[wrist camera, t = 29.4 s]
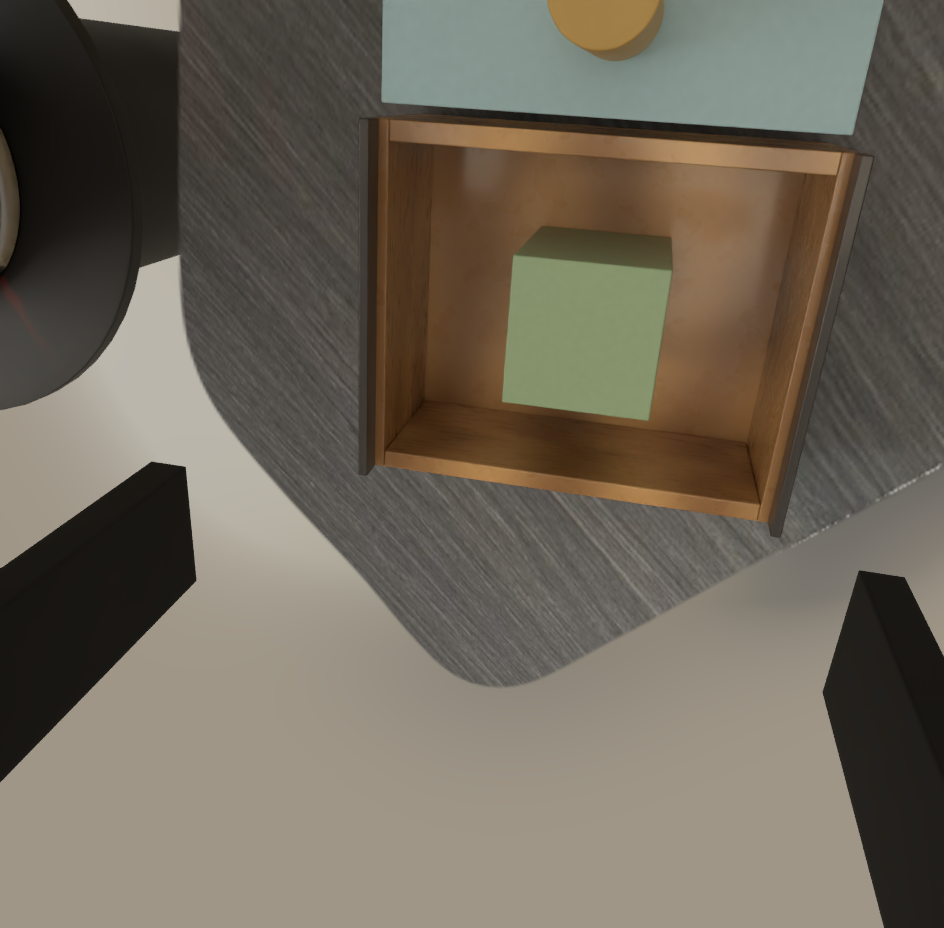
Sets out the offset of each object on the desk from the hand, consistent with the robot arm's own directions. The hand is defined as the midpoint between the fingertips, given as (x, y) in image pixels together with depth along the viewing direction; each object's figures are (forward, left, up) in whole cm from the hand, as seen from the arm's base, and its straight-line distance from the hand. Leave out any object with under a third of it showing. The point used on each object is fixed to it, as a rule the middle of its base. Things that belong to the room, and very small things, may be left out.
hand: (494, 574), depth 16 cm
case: (0, 0, -27) cm, 27 cm away
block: (0, 0, -26) cm, 26 cm away
